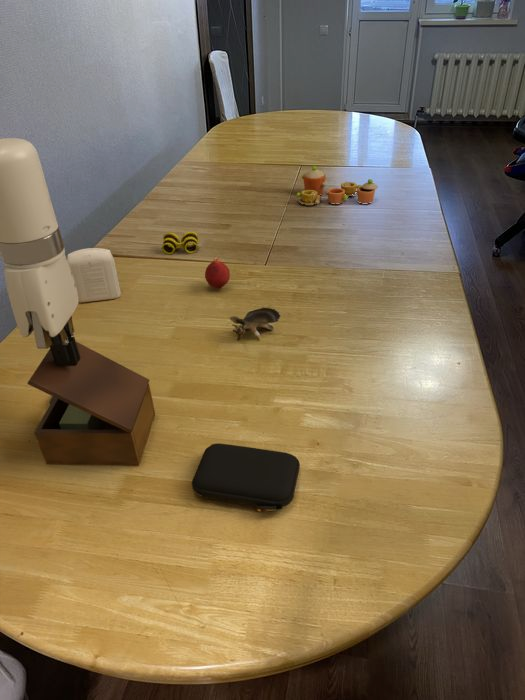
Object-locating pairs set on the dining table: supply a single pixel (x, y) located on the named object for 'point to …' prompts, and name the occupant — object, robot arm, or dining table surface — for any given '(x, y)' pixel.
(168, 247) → the opera glasses
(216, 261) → the onion
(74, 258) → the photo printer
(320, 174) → the toy tea set
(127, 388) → the lid
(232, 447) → the carrying case
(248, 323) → the brown animal figure
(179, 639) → the dining table surface
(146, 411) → the keepsake box
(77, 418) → the block
